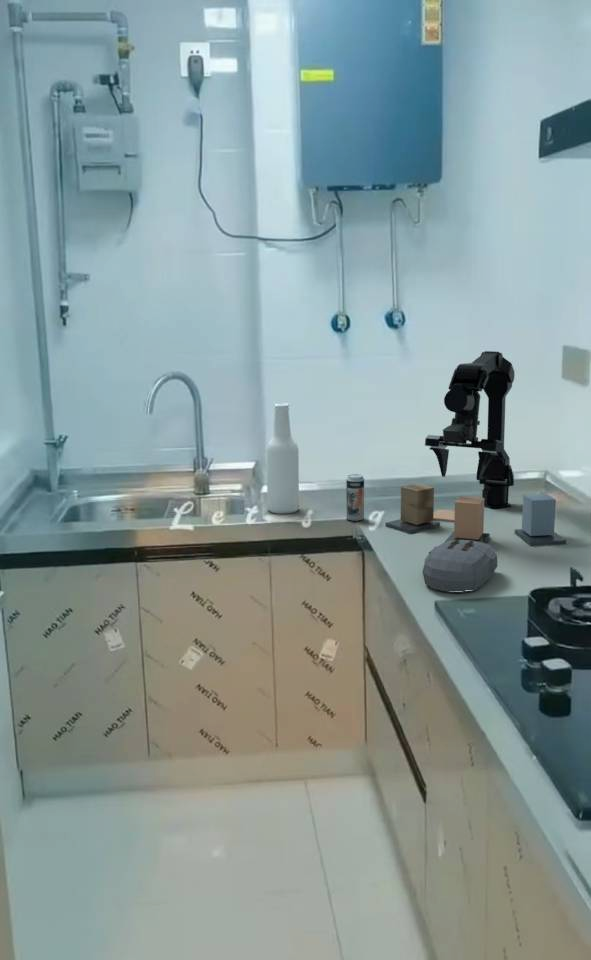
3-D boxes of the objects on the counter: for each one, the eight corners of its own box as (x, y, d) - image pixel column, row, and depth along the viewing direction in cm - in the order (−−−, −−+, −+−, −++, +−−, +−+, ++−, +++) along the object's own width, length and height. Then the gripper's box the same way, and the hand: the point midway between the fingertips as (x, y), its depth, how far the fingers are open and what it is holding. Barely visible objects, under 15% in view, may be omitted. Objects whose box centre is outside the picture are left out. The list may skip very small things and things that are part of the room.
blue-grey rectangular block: (521, 529, 237) (523, 494, 235) (544, 527, 238) (546, 493, 236) (530, 536, 231) (532, 500, 229) (554, 534, 232) (555, 499, 230)
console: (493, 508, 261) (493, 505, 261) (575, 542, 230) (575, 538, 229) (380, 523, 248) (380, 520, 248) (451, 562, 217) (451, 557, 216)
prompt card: (437, 511, 259) (437, 509, 259) (470, 514, 256) (470, 512, 256) (429, 519, 251) (429, 517, 251) (462, 523, 248) (462, 520, 248)
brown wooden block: (417, 516, 250) (417, 483, 248) (433, 520, 245) (434, 487, 243) (400, 520, 247) (401, 486, 244) (416, 524, 242) (417, 491, 240)
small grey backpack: (439, 563, 217) (409, 590, 199) (440, 528, 215) (410, 553, 197) (504, 572, 210) (479, 601, 193) (506, 536, 208) (480, 562, 191)
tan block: (459, 530, 236) (460, 496, 234) (483, 533, 234) (484, 498, 232) (454, 537, 231) (454, 501, 229) (478, 539, 229) (479, 504, 227)
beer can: (343, 520, 252) (343, 476, 249) (350, 516, 256) (350, 473, 253) (359, 522, 249) (359, 478, 247) (367, 518, 254) (367, 474, 251)
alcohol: (271, 505, 268) (269, 401, 261) (301, 506, 266) (300, 401, 259) (264, 513, 259) (262, 406, 252) (295, 515, 258) (294, 406, 251)
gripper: (418, 410, 230) (412, 474, 230) (490, 414, 220) (483, 481, 220) (437, 414, 239) (431, 475, 240) (507, 418, 229) (501, 482, 230)
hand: (460, 478), depth 232 cm, fingers open, 9 cm apart
